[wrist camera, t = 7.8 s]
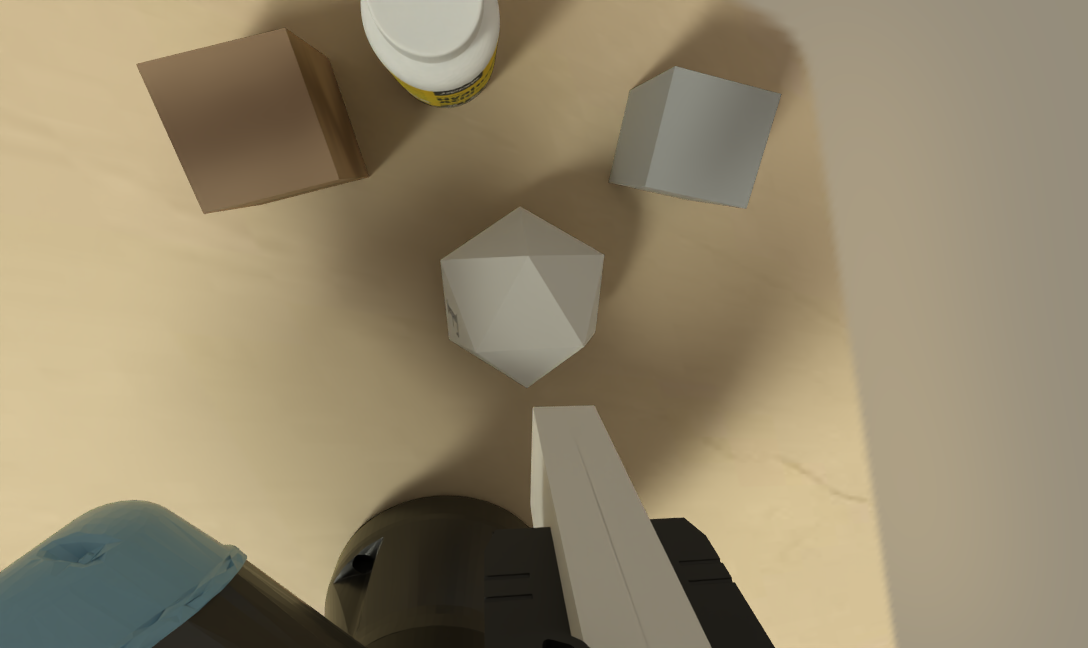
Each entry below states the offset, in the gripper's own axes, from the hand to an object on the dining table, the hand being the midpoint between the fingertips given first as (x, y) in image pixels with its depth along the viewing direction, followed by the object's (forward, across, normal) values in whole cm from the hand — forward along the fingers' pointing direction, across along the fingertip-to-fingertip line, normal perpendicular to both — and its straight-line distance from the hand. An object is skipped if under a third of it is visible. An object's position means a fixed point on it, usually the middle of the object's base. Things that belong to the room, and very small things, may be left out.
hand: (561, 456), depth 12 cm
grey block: (+19, -8, -8) cm, 22 cm away
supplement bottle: (+19, +4, -12) cm, 23 cm away
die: (+19, 0, 0) cm, 19 cm away
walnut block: (+19, +12, -8) cm, 24 cm away
